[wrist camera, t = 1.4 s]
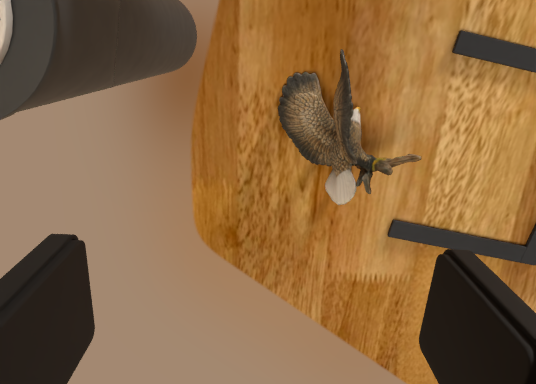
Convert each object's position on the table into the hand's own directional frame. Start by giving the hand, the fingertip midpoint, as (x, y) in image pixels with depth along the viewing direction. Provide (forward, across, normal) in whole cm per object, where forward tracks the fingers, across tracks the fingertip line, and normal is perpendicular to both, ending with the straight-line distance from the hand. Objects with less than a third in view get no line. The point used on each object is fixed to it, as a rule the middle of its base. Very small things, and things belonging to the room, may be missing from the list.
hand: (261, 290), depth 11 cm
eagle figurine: (+22, -6, -1) cm, 22 cm away
